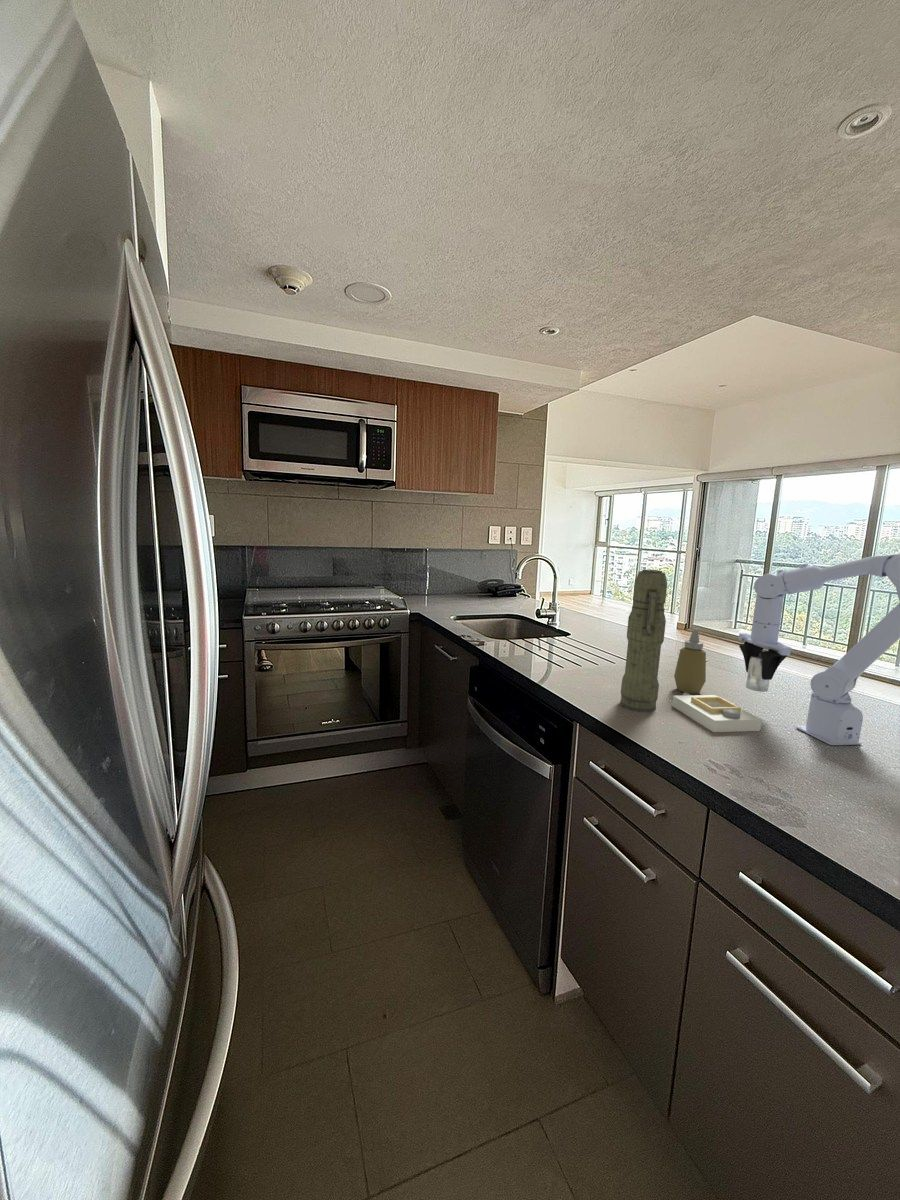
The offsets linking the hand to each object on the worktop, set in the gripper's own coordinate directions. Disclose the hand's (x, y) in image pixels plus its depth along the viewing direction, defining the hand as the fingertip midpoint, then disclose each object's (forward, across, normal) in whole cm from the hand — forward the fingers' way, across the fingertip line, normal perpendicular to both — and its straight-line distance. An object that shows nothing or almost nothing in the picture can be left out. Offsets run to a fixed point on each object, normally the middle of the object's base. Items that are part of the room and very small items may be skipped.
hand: (758, 675), depth 123 cm
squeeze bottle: (+10, -17, -6) cm, 21 cm away
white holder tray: (+10, 0, -13) cm, 16 cm away
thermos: (+10, -7, -28) cm, 30 cm away
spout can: (+3, 0, 0) cm, 3 cm away
